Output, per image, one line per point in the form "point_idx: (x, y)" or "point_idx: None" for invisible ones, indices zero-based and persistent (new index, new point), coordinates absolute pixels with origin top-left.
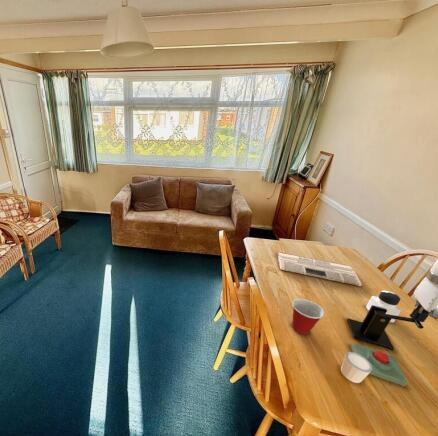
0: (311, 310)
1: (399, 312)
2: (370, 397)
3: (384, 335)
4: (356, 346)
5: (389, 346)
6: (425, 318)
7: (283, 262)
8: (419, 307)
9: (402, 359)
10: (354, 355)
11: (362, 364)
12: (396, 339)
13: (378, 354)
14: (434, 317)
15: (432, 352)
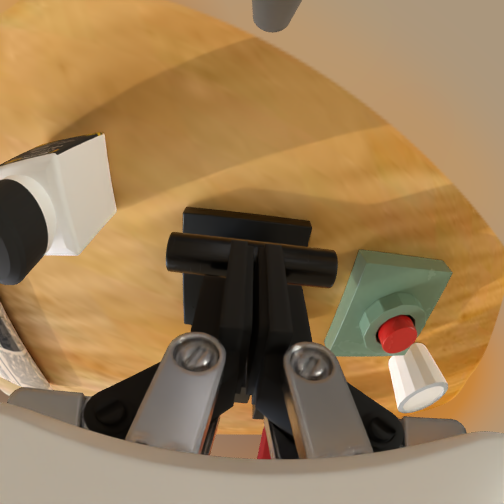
0: (267, 454)
1: (63, 156)
2: (452, 337)
3: (236, 230)
4: (340, 352)
5: (304, 241)
6: (285, 283)
7: (27, 385)
8: (216, 415)
9: (348, 206)
10: (407, 402)
11: (430, 393)
12: (226, 168)
13: (396, 348)
14: (451, 434)
15: (260, 42)
